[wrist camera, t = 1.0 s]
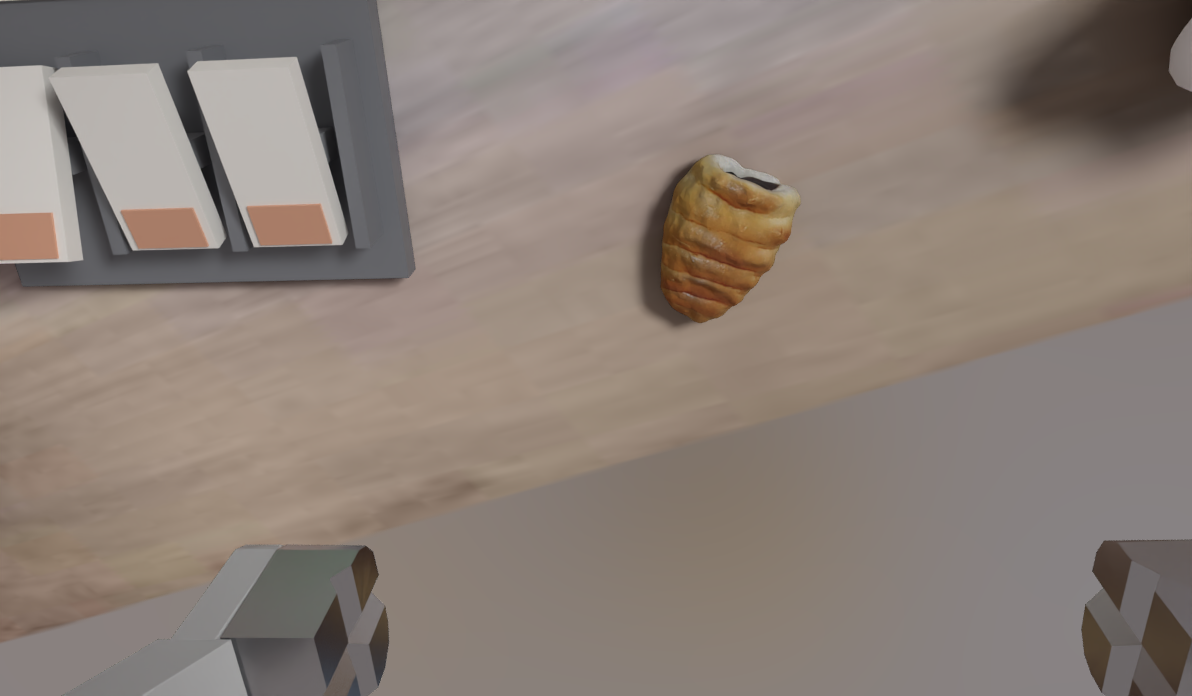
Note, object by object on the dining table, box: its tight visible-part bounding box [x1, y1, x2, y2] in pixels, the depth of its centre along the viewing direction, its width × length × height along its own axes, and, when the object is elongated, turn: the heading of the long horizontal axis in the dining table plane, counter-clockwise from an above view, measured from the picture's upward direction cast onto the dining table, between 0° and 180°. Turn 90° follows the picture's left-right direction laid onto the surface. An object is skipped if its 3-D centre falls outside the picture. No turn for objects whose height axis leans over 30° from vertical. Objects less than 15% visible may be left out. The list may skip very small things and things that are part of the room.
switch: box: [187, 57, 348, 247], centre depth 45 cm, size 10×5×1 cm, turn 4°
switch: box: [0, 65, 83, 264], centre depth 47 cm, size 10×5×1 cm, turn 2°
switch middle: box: [49, 63, 227, 250], centre depth 46 cm, size 10×5×1 cm, turn 4°
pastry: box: [661, 154, 801, 323], centre depth 49 cm, size 9×7×4 cm
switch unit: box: [0, 0, 415, 286], centre depth 47 cm, size 24×24×4 cm
